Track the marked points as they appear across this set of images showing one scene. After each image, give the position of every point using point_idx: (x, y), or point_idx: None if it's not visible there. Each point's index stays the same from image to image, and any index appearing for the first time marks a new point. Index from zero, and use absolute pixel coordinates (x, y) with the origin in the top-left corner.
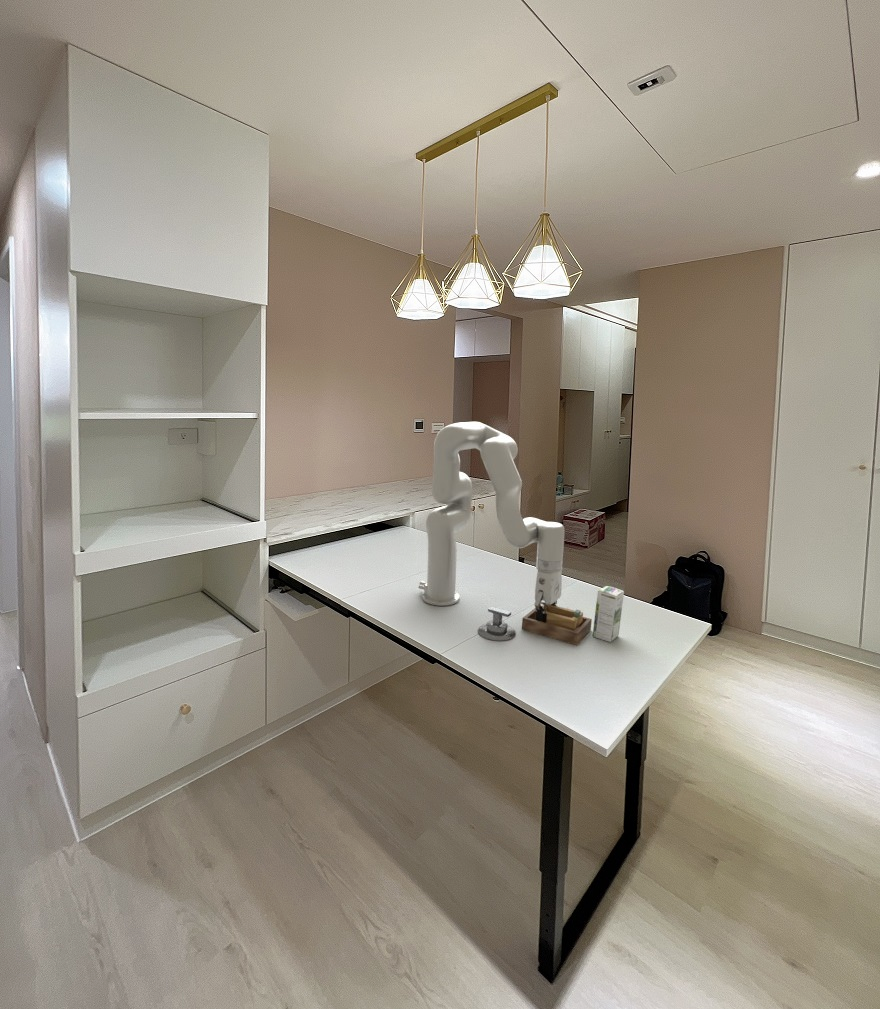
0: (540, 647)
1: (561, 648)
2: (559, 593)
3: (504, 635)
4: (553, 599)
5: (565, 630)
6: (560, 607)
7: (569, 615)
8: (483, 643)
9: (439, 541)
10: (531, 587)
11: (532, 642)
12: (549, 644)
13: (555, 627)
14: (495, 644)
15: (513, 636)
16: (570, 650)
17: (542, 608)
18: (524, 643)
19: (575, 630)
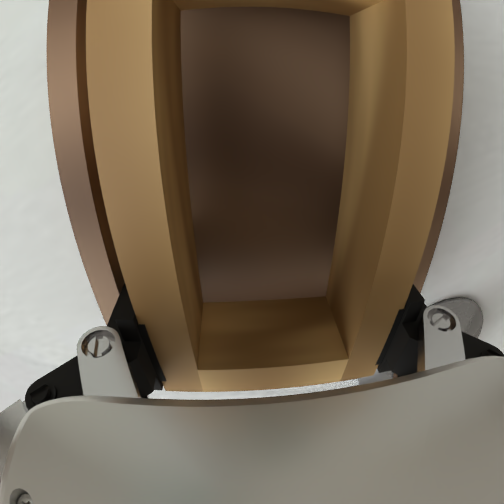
0: (501, 169)
1: (476, 68)
2: (111, 495)
3: None
4: (462, 427)
5: (460, 58)
6: (131, 261)
7: (172, 91)
8: (492, 332)
9: None
10: (3, 392)
11: (474, 218)
12: (469, 136)
13: (456, 145)
14: (497, 309)
15: (457, 302)
16: (469, 21)
17: (489, 355)
18: (486, 242)
19: (207, 26)
